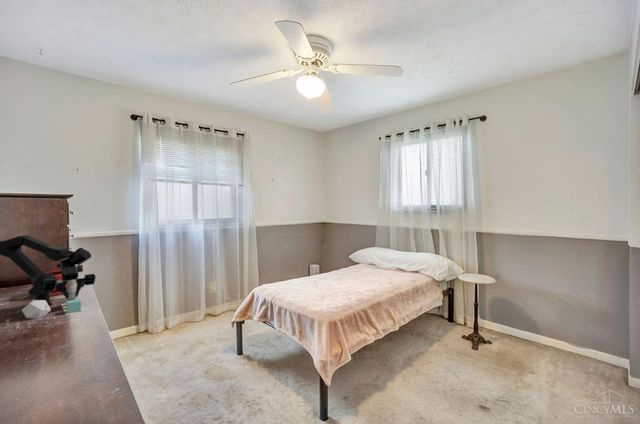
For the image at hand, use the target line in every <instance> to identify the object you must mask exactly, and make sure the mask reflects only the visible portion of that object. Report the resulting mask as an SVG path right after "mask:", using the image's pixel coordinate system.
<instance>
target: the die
mask: <svg viewBox="0 0 640 424" xmlns="http://www.w3.org/2000/svg"><path fill="white" fill-rule="evenodd" d="M51 311H52V310H51V308H50V305H48V304H47V302H46V300H34V299H33V300H32V301H31V302H30V303H28V304H27V305H26V306H24V308H22V309H21V312H22V313H23V315H24V317H25V318H26V319H38V318H43V317H45V316H46V315H47V314H49V312H51Z"/></svg>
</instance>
